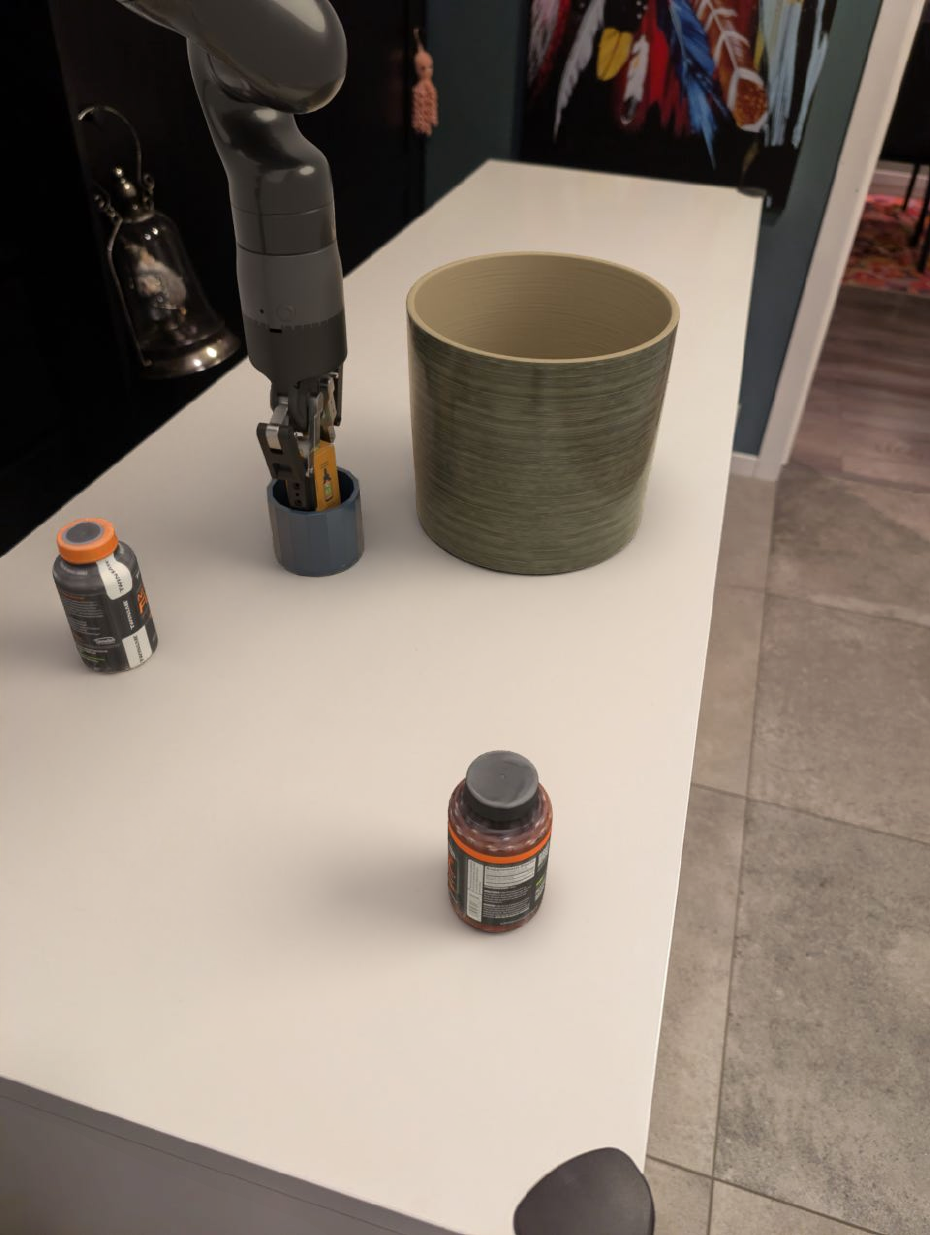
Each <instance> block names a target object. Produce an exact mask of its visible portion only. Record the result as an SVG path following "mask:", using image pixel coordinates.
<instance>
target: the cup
mask: <svg viewBox="0 0 930 1235" xmlns="http://www.w3.org/2000/svg"><path fill="white" fill-rule="evenodd" d="M337 474H338V483H339V491H340V500H341V504H340V505H339V506H336V507H333V508H330V509H327V510H323V511H312V512H305V511H298V510H291V509H290V505H289V498H288V492H287V486H286V480H280V479H279V480H277V479H272V478H271V480H270V482H269V483H268V485H267V486H266V500H267V507H268V508H267V509H268V514H269V522H270V528H271V536H272V542H273V550H274V554H275V558H276V560H277V561H278V563H279V565H280V566H281V567H282V568H284V569H285V570H287V571H288V572H291V573H293V574H296V575H299V576H304V577H327V576H333V575H336V574H339V573H341V572H344V571H346V570H348V569H350V568H351V567H352V566H354V565H355V564H356V563H357V562H358V561H359V560H360V559H361V557H362V556H363V553H364V549H365V548H364V545H365V541H364V528H363V526H364V525H363V510H362V498H361V486H360V480H359V479H358V478H357V476H355V475H354V474H353V473H352V471H350V470H348V469H346V468H343V467H341V466H338V465H337Z"/></svg>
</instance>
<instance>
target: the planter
mask: <svg viewBox="0 0 930 1235" xmlns="http://www.w3.org/2000/svg"><path fill="white" fill-rule="evenodd" d="M405 298H406V299H405V318H406V343H407V344H406V345H407V367H408V368H407V371H408V372H407V373H408V389H409V390H408V392H409V394H408V395H409V409H410V410H409V412H410V429H411V443H412V458H413V459H412V460H413V474H414V475H413V476H414V492H415V507H416V513H417V517H418V520H419V522H420V524H421V526H422V528H423V529H424V531H425V532H426V534H427V535H428V536H429V537H430V538H431V539H432V540H433V541H434V542H435V543H437V545H439V546H440V547H441V548H442V549H444V550H445V551H447V552H449V553H451V554H452V555H453V556H455V557H457V558H460V559H461V560H464V561H466V562H468V563H471V564H474V565H477V566H480V567H483V568H486V569H490V570H495V571H500V572H505V573H511V574H524V575H550V574H561V573H567V572H572V571H573V572H574V571H576V570H581V569H584V568H588V567H591V566H594V565H597V564H599V563H601V562H604V561H605V560H607V559H610V558H611V557H613V556H614V555H615V554H617V553H619V552H620V551H621V550H623V549H624V548H625V547H626V546H627V545H628V544H629V543H630V542H631V541H632V539H634V536H635V535H636V533H637V532H638V530H639V527H640V524H641V521H642V516H643V511H644V507H645V500H646V495H647V491H648V485H649V480H650V476H651V470H652V465H653V461H654V456H655V451H656V446H657V443H658V442H657V441H658V436H659V432H660V426H661V422H662V416H663V412H664V406H665V400H666V395H667V390H668V384H669V379H670V375H671V374H670V373H671V368H672V362H673V358H674V352H675V345H676V341H677V334H678V330H679V325H680V324H679V323H680V318H681V310H680V305H679V303H678V300H677V299H676V297H675V296H674V294H673V293H672V292H671V291H670V290H669V289H668V288H667V287H665V286H664V285H663V284H662V283H660V282H659V281H658V280H656V279H655V278H653V277H651V276H649V275H647V274H645V273H644V272H641V271H639V270H637V269H634V268H632V267H630V266H626V265H623V264H620V263H617V262H613V261H610V260H607V259H603V258H598V257H593V256H588V255H583V254H582V255H581V254H575V253H565V252H557V251H556V252H555V251H535V250H533V251H531V250H530V251H529V250H528V251H527V250H526V251H525V250H524V251H522V250H521V251H506V252H495V253H487V254H480V255H475V256H470V257H465V258H462V259H458V260H455V261H452V262H449V263H446V264H443V265H441V266H439V267H437V268H436V267H435V268H434V269H432V270H430V271H428V272H427V273H426V274H424V275H422V276H421V277H420V278H418V279H417V280H416V281H415V282H414V283H413V284H412V286H411V287H410V288H409V290H408V292H407V294H406V297H405Z"/></svg>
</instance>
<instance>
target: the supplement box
mask: <svg viewBox="0 0 930 1235" xmlns="http://www.w3.org/2000/svg"><path fill="white" fill-rule="evenodd" d="M305 437H308V435H305ZM299 451H300V454H301V457H302V461H303V451H302V450H300V449H299ZM337 466H338V465H337V458H336V449H335V444H334V443H333V444H332V443H328V442H325V441H322V440H320V444H319V446H317V447H316V448H315V449H314V474H315V484H316V494H317V504H318V507H317V509H316V510H315V511H323V510H327V509H330V508H333V507H336V506H339V505H340V504H341V500H340V491H339V483H338V474H337ZM286 486H287V480H286ZM287 492H288V488H287ZM288 498H289V496H288ZM290 509H291V508H290Z"/></svg>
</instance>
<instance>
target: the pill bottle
mask: <svg viewBox="0 0 930 1235" xmlns="http://www.w3.org/2000/svg"><path fill="white" fill-rule="evenodd" d="M55 541H56V545H57V548H58V553H59V554H58V555H57V556H56V558H55V560H54V561H53V565H52V570H51V571H52V578H53V582H54V584H55V587H56V590H57V593H58V596H59V599H60V601H61V605H62V607H63V611H64V614H65V618H66V620H67V623H68V626H69V629H70V632H71V635H72V638H73V641H74V644H75V647H76V650H77V653H78V656H79V657H80V660H81V661H82V663H83V664H84V665H85V666H86V667H88V668H90V669H91V670H93V671H97V672H100V673H119V672H125V671H128V670H131V669H133V668H136V667H137V666H140V665H141V664H143V663H144V662H146V661H147V660H148V659H149V658H150V657H151V656H152V655H153V654H154V652H156V651H155V650H156V648H157V646H158V642H159V639H158V634H157V630H156V627H155V622H154V619H153V615H152V611H151V606H150V604H149V599H148V596H147V592H146V588H145V584H144V581H143V577H142V573H141V569H140V566H139V562H138V558H137V555H136V553H135V551H134V550H133V548H132V547H130V545H128V544H127V543H126V542H124V541H122V540H120V539H119V537H118V535H117V533H116V529H115V527H114V525H113V523H111V522H110V521H108V520H106V519H103V518H99V517H86V518H85V517H84V518H81V519H76V520H74V521H72V522H69V523H67V524H66V525H64V526H63V527H62V528H60V529H59V531H58V532H57V534H56V538H55Z"/></svg>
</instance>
